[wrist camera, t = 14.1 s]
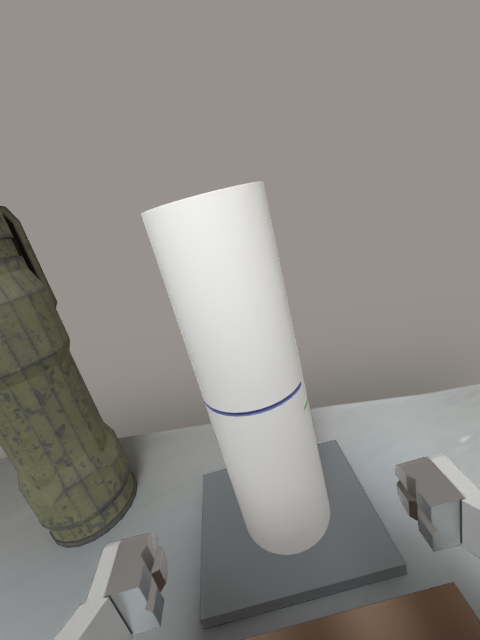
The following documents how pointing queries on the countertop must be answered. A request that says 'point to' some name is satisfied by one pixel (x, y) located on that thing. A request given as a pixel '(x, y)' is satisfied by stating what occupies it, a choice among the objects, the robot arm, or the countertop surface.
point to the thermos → (52, 408)
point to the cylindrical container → (245, 357)
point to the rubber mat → (297, 569)
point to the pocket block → (394, 620)
